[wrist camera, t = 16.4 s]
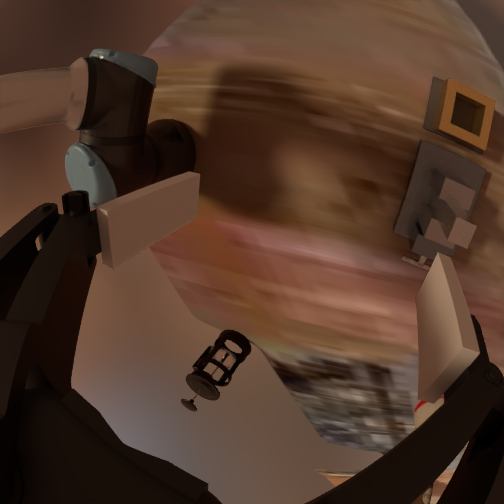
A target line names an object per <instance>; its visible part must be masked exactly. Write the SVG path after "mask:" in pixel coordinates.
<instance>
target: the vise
mask: <svg viewBox="0 0 504 504" xmlns="http://www.w3.org/2000/svg"><path fill="white" fill-rule="evenodd" d="M485 172H486V169H485V168H483V167H481V166H479V165H477V164H475V163H473V162H471V161H469V160H467V159H465V158H463V157H461V156H458V155H456V154H454V153H452V152H450V151H447V150H445V149H443V148H440V147H438V146H436V145H433V144H431V143H428V142H426V141H423V140H421V139H420V142H419V146H418V150H417V154H416V158H415V161H414V165H413V168H412V172H411V175H410V178H409V182H408V185H407V188H406V191H405V194H404V197H403V201H402V204H401V206H400V209H399V212H398V215H397V218H396V221H395V224H394V226H393V233H395V234H398V235H400V236H403V237H405V238H408V239H409V242H410V248H411V252H414V253H416V254H419V255H420V256H419V258H418V260H416V259H413V258H411V257H408V256H406V255H403V256H402V257H401V259H402V261H404V262H407V263H409V264H412V265H414V266H417V267H419V268H422V269H425V270H427V271H429V270H430V268H431V265H429V264H426V263H425V262H426V260H427V258H429V259H431V260H435V257H436V255H437V253H438V252H439V253H441V254H443V255H446V256H448V255H450V256H452V257H453V256H454V254H455V252H456V249H457V247H458V245H460V246H462V247H464V248H466V249H467V248H468V246H469V244H470V242H471V240H472V237H473V235H474V233H475V230H476V228H477V225H476V224H475V223H474V222H473V220H472V219H471V218H470V216H471V214H472V211H473V208H474V206H475V203H476V200H477V197H478V194H479V191H480V188H481V185H482V182H483V179H484V176H485Z"/></svg>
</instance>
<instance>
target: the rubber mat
mask: <svg viewBox="0 0 504 504" xmlns="http://www.w3.org/2000/svg"><path fill="white" fill-rule="evenodd" d="M443 81H444V80H441V79H439V78H436V77H433V80H432V86H431V92H430V97H429V103H428V108H427V112H426V117H425V122H424V126H423V128H425V129H427V130H430V131H432V132H435V133H437V134H440V135H442V136H444V137H447V138H449V139H451V140H453V141H456V142H458V143H460V144H462V145H464V146H466V147H468V148H470V149H472V150H474V151H476V152H478V153H480V154H482V153H483V150H481V149H478V148H475V147H473V146H471V145H469V144H467V143H465V142H463V141H461V140H458V139H456V138H454V137H452V136H450V135H447V134H445V133H443V132H440V131H438V130H436V129H433V125H434V120H435V116H436V111H437V106H438V101H439V95H440V90H441V84H442V82H443ZM475 108H476V107H474V106H472V105H470V104H468V103H466V102H464V101H462V100H460V99H458V98H455V102H454V108H453V113H452V118H451V122H450V123H451V124H453V125H455V126H458V127H460V128H462V129H464V130H466V131H468V132H471V128H472V123H473V119H474V113H475Z"/></svg>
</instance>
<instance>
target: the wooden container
mask: <svg viewBox="0 0 504 504" xmlns="http://www.w3.org/2000/svg"><path fill="white" fill-rule="evenodd" d="M433 483H434V482H433ZM433 483H432V484H431V485H430V486H429V487H428V488H427V489H426V490H425V491H424V492H423V493H422V494H421V495H420V496H419V497H418V498H417V499H416V500H415V501H414V502H413V503H411V504H430V500H431V496H432V490H433Z"/></svg>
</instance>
